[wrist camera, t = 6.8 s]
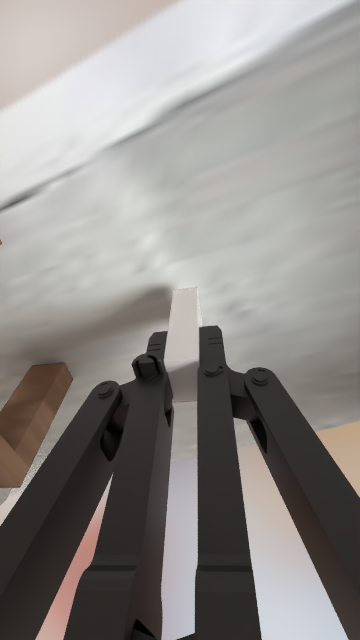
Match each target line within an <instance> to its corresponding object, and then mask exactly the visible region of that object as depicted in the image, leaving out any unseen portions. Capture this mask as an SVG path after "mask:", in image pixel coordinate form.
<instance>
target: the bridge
mask: <svg viewBox="0 0 360 640" xmlns="http://www.w3.org/2000/svg"><path fill="white" fill-rule="evenodd" d="M1 244H2V242H1V240H0V245H1ZM72 380H73V378H72V376H71V375H70V373H69V371H68V369H67V367H66V365H65V363H57V364H46V365H35V366H32V367H31V368H30V370H29V371H28V372H27V374H26V375H25V377H24V378H23V380H22V381H21V383H20V384H19V385H18V387H17V388H16V390H15V391H14V393H13V394H12V396H11V397H10V399H9V400H8V401H7V403H6V404H5V406H4V407H3V409H2V410H1V412H0V488H20V487H21V485H22V482H23V480H24V478H25V476H26V474H27V472H28V470H29V468H30V466H31V464H32V462H33V460H34V458H35V456H36V454H37V452H38V450H39V448H40V446H41V444H42V442H43V440H44V437H45V435H46V433H47V431H48V429H49V427H50V425H51V423H52V421H53V419H54V417H55V415H56V413H57V411H58V409H59V407H60V405H61V403H62V401H63V399H64V397H65V395H66V392H67V390H68V388H69V386H70V384H71V382H72Z"/></svg>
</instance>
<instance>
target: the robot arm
mask: <svg viewBox="0 0 360 640" xmlns="http://www.w3.org/2000/svg"><path fill="white" fill-rule="evenodd" d="M132 367H133V370H134V373H135V376H136V379H135V380H133V381H131V382H129V383H126V384H123V385H120V386H119V384H118V383H117V382H114V381H105V382H102V383H100V384H99V385H97V386H96V387H95V388H94V389H93V390H92V392H91V393H90V394H89V396H88V397H87V399H86V400H85V402H84V403H83V405H82V406H81V408H80V409H79V411H78V412H77V414H76V415H75V417H74V418H73V420H72V421H71V423H70V424H69V425H68V427H67V428H66V430H65V431H64V433H63V434H62V436H61V437H60V439H59V440H58V442H57V443H56V445H55V446H54V448H53V449H52V451H51V452H50V454H49V455H48V457H47V458H46V459H45V461H44V462H43V464H42V465H41V467H40V468H39V470H38V471H37V473H36V474H35V476H34V477H33V479H32V480H31V482H30V483H29V485H28V486H27V488H26V489H25V490H24V492H23V493H22V495H21V496H20V498H19V499H18V501H17V502H16V504H15V505H14V507H13V508H12V510H11V511H10V513H9V514H8V516H7V517H6V519H5V520H4V522H3V523H2V524H1V526H0V640H35V639H36V637H37V635H38V633H39V631H40V629H41V626H42V624H43V622H44V620H45V618H46V615H47V614H48V611H49V609H50V607H51V605H52V603H53V601H54V599H55V596H56V594H57V592H58V590H59V588H60V586H61V583H62V581H63V579H64V577H65V575H66V573H67V571H68V568H69V566H70V564H71V562H72V560H73V558H74V556H75V553H76V551H77V549H78V547H79V545H80V542H81V540H82V538H83V536H84V534H85V532H86V530H87V528H88V525H89V523H90V521H91V519H92V517H93V515H94V512H95V510H96V508H97V506H98V504H99V502H100V500H101V497H102V495H103V493H104V491H105V489H106V487H107V484H108V482H109V480H110V478H111V476H112V474H113V477H112V481H111V486H110V490H109V494H108V498H107V502H106V507H105V511H104V515H103V519H102V524H101V528H100V532H99V536H98V541H97V545H96V549H95V553H94V557H93V560H92V562H91V564H90V566H89V567H88V568H87V569H86V570H85V571H84V572H83V574H82V576H81V578H80V580H79V583H78V586H77V589H76V593H75V597H74V601H73V604H72V609H71V612H70V616H69V620H68V624H67V628H66V632H65V635H64V639H63V640H161V636H162V601H161V581H162V567H163V553H164V539H165V526H166V511H167V499H168V485H169V471H170V458H171V444H172V430H173V417H174V410H173V405H172V399H174V402H188V401H197V429H198V565H197V569H196V577H195V633H194V634H191V635H189V636H186V637H183V638H180V639H177V640H262V639H261V631H260V623H259V616H258V607H257V600H256V592H255V584H254V577H253V570H252V564H251V558H250V549H249V541H248V533H247V525H246V518H245V509H244V501H243V494H242V485H241V477H240V469H239V462H238V454H237V446H236V438H235V430H234V422H233V417H234V418H239V419H243V420H246V421H247V424H248V426H249V428H250V430H251V432H252V434H253V436H254V438H255V441H256V443H257V445H258V447H259V449H260V451H261V453H262V456H263V458H264V460H265V462H266V464H267V466H268V468H269V470H270V473H271V475H272V477H273V479H274V481H275V483H276V485H277V487H278V490H279V492H280V494H281V496H282V498H283V500H284V502H285V505H286V507H287V509H288V511H289V513H290V515H291V517H292V519H293V522H294V524H295V526H296V528H297V530H298V532H299V534H300V536H301V539H302V541H303V543H304V545H305V547H306V549H307V551H308V554H309V556H310V558H311V560H312V562H313V564H314V566H315V569H316V571H317V573H318V575H319V577H320V579H321V581H322V584H323V586H324V588H325V590H326V592H327V594H328V596H329V598H330V600H331V603H332V604H333V607H334V609H335V611H336V613H337V616H338V617H339V620H340V622H341V624H342V626H343V628H344V630H345V633H346V635H347V637H348V639H349V640H360V497H359V496H358V495H357V493H356V492H355V490H354V489H353V487H352V486H351V484H350V483H349V481H348V480H347V479H346V477H345V476H344V474H343V473H342V471H341V470H340V468H339V467H338V465H337V464H336V463H335V461H334V460H333V458H332V457H331V455H330V454H329V452H328V451H327V449H326V448H325V447H324V445H323V444H322V442H321V441H320V439H319V438H318V436H317V435H316V434H315V432H314V431H313V429H312V428H311V426H310V425H309V423H308V422H307V420H306V419H305V417H304V416H303V415H302V413H301V412H300V410H299V409H298V407H297V406H296V404H295V403H294V401H293V400H292V399H291V397H290V396H289V394H288V393H287V391H286V390H285V388H284V387H283V385H282V384H281V383H280V381H279V380H278V378H277V377H276V375H275V374H274V373H273V372H272V371H270V370H268V369H266V368H260V367H259V368H253V369H250V370H248V371H247V372H246V373H245V374H243V373H238V372H235V371H233V370H231V369H230V368H229V367H228V366H227V365H226V361H225V353H224V346H223V338H222V331H221V329H220V328H219V327H218V326H217V325H216V326H207V327H202V318H201V311H200V304H199V297H198V290H197V287H194V288H186V289H178V290H173V297H172V304H171V311H170V319H169V326H168V331H164V332H155V333H153V335H152V336H151V337H150V338H149V342H148V347H147V351H146V354H142V355H140V356H138V357H137V358H135V359H134V360H133V362H132ZM113 472H114V473H113Z"/></svg>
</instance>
